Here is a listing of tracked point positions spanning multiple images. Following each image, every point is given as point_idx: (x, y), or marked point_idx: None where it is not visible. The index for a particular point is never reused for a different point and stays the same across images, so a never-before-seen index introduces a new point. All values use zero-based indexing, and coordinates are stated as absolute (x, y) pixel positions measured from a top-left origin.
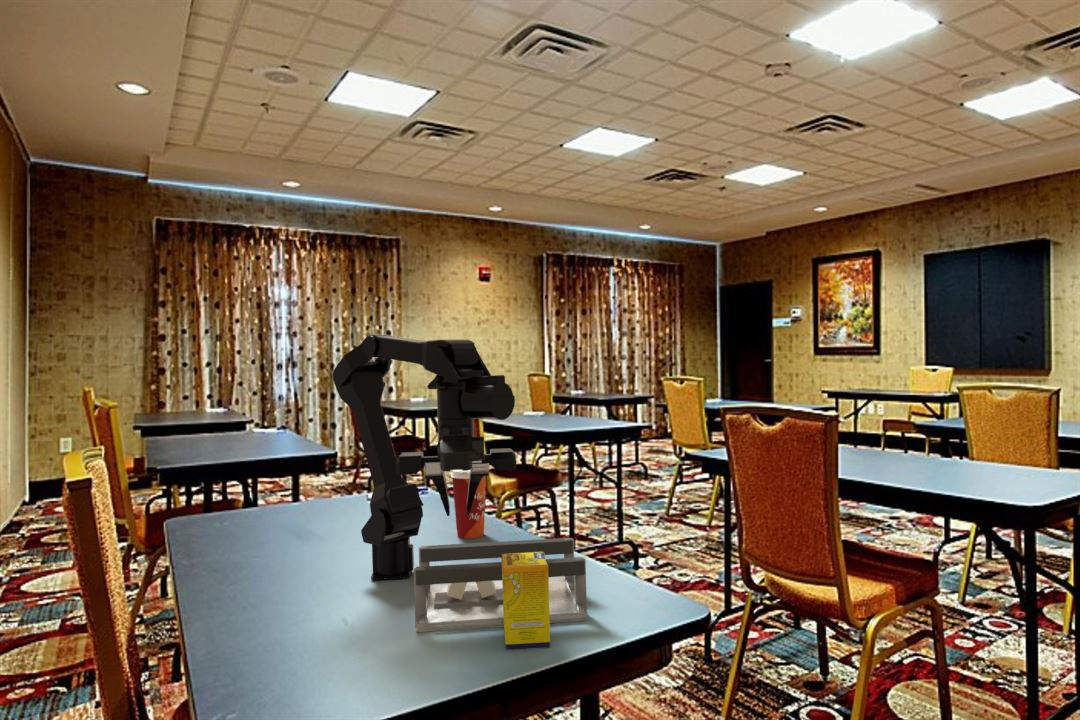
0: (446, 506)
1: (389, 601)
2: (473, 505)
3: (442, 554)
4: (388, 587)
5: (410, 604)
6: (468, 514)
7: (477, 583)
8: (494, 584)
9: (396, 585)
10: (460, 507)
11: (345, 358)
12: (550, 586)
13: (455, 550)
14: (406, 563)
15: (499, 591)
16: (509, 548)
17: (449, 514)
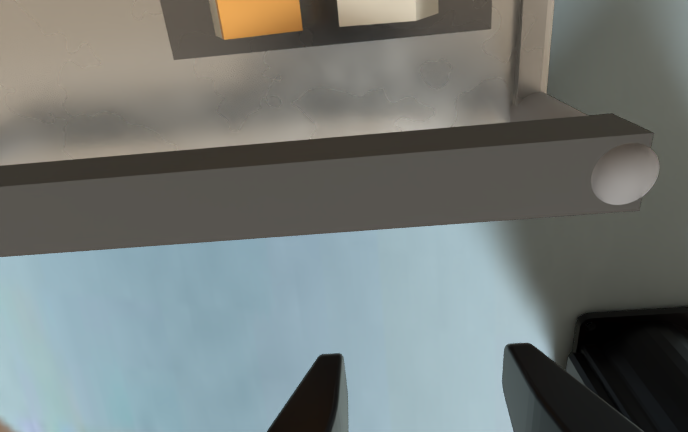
0: (570, 400)
1: (665, 86)
2: None
3: (495, 135)
4: (656, 239)
5: (582, 41)
6: (329, 355)
7: None
8: (212, 16)
9: (625, 256)
10: None
11: None
12: (13, 111)
13: (418, 147)
14: (605, 367)
15: (200, 17)
16: (95, 171)
17: (508, 349)
